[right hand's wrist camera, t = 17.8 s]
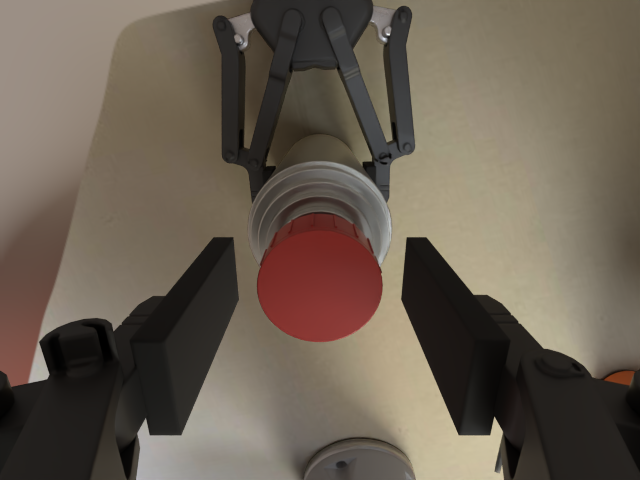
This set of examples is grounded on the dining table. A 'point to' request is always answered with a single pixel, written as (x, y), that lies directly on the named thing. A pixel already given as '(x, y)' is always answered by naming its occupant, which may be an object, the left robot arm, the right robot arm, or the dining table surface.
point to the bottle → (319, 194)
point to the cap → (319, 278)
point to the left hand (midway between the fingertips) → (322, 241)
